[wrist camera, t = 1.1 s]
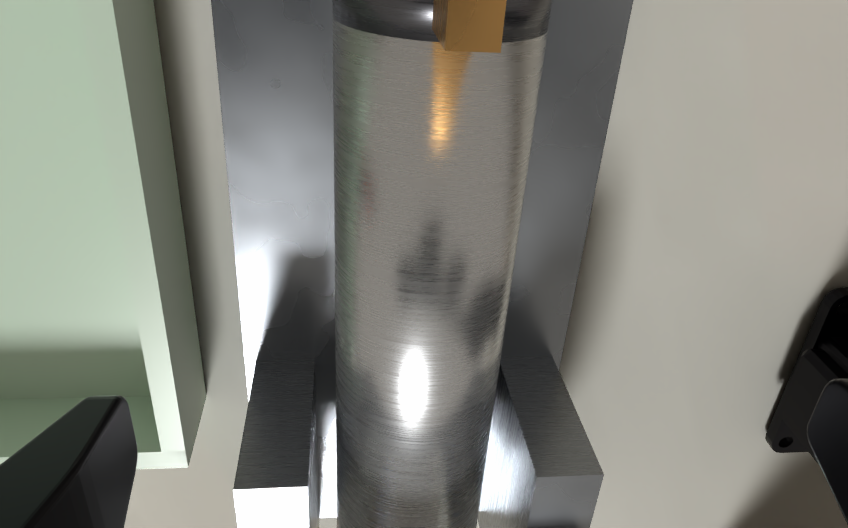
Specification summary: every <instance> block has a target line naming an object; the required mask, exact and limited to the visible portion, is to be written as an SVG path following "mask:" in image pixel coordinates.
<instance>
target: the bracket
mask: <svg viewBox="0 0 848 528" xmlns="http://www.w3.org/2000/svg"><path fill="white" fill-rule="evenodd" d="M632 4H633V0H552V6H551V13H550V20H549V27H548V34H547V41H546V47H545V54H544V61H543V68H542V75H541V82H540V89H539V96H538V103H537V110H536V117H535V124H534V131H533V137H532V144H531V151H530V158H529V165H528V172H527V179H526V186H525V193H524V200H523V207H522V214H521V221H520V227H519V234H518V241H517V248H516V255H515V262H514V269H513V276H512V283H511V290H510V297H509V304H508V310H507V317H506V324H505V331H504V338H503V345H502V352H501V359H500V366H499V373H498V380H497V387H496V394H495V400H494V407H493V414H492V421H491V428H490V435H489V442H488V449H487V456H486V463H485V470H484V477H483V484H482V490H481V497H480V504H479V511H478V522H479V527H480V528H590V524H591V521H592V517H593V513H594V509H595V506H596V502H597V498H598V495H599V491H600V487H601V483H602V480H603V476H604V474H603V471H602V469H601V467H600V465H599V462H598V460H597V458H596V455H595V453H594V451H593V448H592V446H591V444H590V442H589V439H588V437H587V435H586V432H585V430H584V428H583V425H582V423H581V421H580V419H579V416H578V414H577V412H576V409H575V407H574V405H573V402H572V400H571V398H570V396H569V393H568V391H567V389H566V386H565V384H564V382H563V379H562V377H561V375H560V373H559V368H560V363H561V358H562V353H563V348H564V343H565V338H566V333H567V328H568V323H569V318H570V313H571V308H572V303H573V298H574V293H575V288H576V283H577V278H578V273H579V268H580V263H581V258H582V253H583V248H584V243H585V238H586V233H587V228H588V223H589V218H590V213H591V208H592V203H593V198H594V193H595V188H596V183H597V178H598V173H599V168H600V163H601V158H602V153H603V148H604V143H605V139H606V134H607V129H608V124H609V119H610V114H611V109H612V104H613V99H614V94H615V89H616V84H617V79H618V74H619V69H620V64H621V59H622V54H623V49H624V44H625V39H626V34H627V29H628V24H629V19H630V14H631V9H632ZM211 5H212V16H213V26H214V37H215V48H216V58H217V69H218V80H219V90H220V101H221V112H222V123H223V133H224V144H225V155H226V165H227V176H228V187H229V198H230V208H231V219H232V230H233V240H234V251H235V262H236V272H237V283H238V294H239V305H240V315H241V326H242V337H243V347H244V358H245V369H246V380H247V390H248V401H249V403H248V409H247V415H246V420H245V426H244V432H243V437H242V443H241V449H240V454H239V460H238V466H237V471H236V477H235V483H234V488H233V492H234V500H235V509H236V517H237V526H238V528H319V518H333V517H337V464H336V351H335V238H334V125H333V11H332V0H211Z"/></svg>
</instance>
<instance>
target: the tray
mask: <svg viewBox="0 0 848 528" xmlns="http://www.w3.org/2000/svg"><path fill="white" fill-rule="evenodd" d="M105 395H120V396H122V397H124V398H125V399H126V401H127V402H128V405H129V409H130V414H131V419H132V423H133V428H134V433H135V438H136V442H137V450H138V458H137V466H136V469H162V468H188V466H189V462H190V458H191V454H192V450H193V446H194V442H195V439H196V435H197V431H198V427H199V423H200V419H201V415H202V411H203V408H204V404H205V400H206V390H205V383H204V375H203V368H202V360H201V353H200V345H199V338H198V331H197V323H196V316H195V308H194V301H193V293H192V286H191V278H190V271H189V263H188V256H187V248H186V241H185V233H184V226H183V218H182V211H181V203H180V196H179V188H178V181H177V173H176V166H175V158H174V151H173V143H172V136H171V128H170V121H169V113H168V106H167V99H166V91H165V84H164V76H163V69H162V61H161V54H160V46H159V39H158V31H157V24H156V16H155V9H154V1H153V0H0V464H2V463H3V462H4V461H5V460H7V459H8V458H9V457H10V456H12V455H13V454H14V453H16V452H17V451H18V450H19V449H21V448H22V447H23V446H24V445H26V444H27V443H28V442H30V441H31V440H32V439H33V438H35V437H36V436H37V435H38V434H40V433H41V432H42V431H44V430H45V429H46V428H47V427H49V426H50V425H51V424H52V423H54V422H55V421H56V420H58V419H59V418H60V417H61V416H63V415H64V414H65V413H66V412H68V411H69V410H70V409H72V408H73V407H74V406H75V405H77V404H78V403H79V402H80V401H82V400H83V399H85V398H87V397H89V396H105Z"/></svg>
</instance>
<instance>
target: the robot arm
mask: <svg viewBox="0 0 848 528" xmlns="http://www.w3.org/2000/svg"><path fill="white" fill-rule="evenodd" d="M842 303H843V304H842ZM841 304H842V305H841ZM840 305H841V306H840ZM765 439H766V441H767V443H768V444H769V445H770V447H771V448H772V449H773V450H774V451H775V452H779V453H788V452H809V453H810V454H811V455H812V457H813V458H814V459H815V460H816V462H817V463H818V464H819V465H820V467H821V469H822V471H823V473H824V476H825V478H826V480H827V482H828V484H829V486H830V488H831V490H832V493H833V495H834V497H835V499H836V501H837V503H838V505H839V507H840V509H841V512H842V514H843V516H844V518H845V520H846V522H847V524H848V288H837V289H835V290H833V291H831V292H829V293H828V294H827V295H826V296H825V297H824V299H823V301H822V302H821V305H820V307H819V310H818V312H817V314H816V317H815V319H814V321H813V324H812V326H811V329H810V331H809V333H808V336H807V338H806V340H805V343H804V345H803V348H802V350H801V352H800V355H799V357H798V359H797V362H796V364H795V367H794V369H793V371H792V374H791V376H790V378H789V381H788V383H787V386H786V388H785V390H784V393H783V395H782V397H781V400H780V402H779V405H778V407H777V409H776V412H775V414H774V416H773V419H772V421H771V424H770V426H769V428H768V431H767V433H766V437H765ZM137 458H138V450H137V442H136V438H135V433H134V428H133V423H132V419H131V414H130V409H129V405H128V402H127V401H126V399H125V398H124V397H122V396H120V395H105V396H89V397H87V398H85V399H83V400H82V401H80V402H79V403H78V404H77V405H75V406H74V407H73V408H72V409H70V410H69V411H68V412H66V413H65V414H64V415H63V416H61V417H60V418H59V419H58V420H56V421H55V422H54V423H52V424H51V425H50V426H49V427H47V428H46V429H45V430H44V431H42V432H41V433H40V434H38V435H37V436H36V437H35V438H33V439H32V440H31V441H30V442H28V443H27V444H26V445H24V446H23V447H22V448H21V449H19V450H18V451H17V452H16V453H14V454H13V455H12V456H10V457H9V458H8V459H7V460H5V461H4V462H3V463H2V464H0V528H124V524H125V519H126V514H127V510H128V505H129V500H130V495H131V490H132V486H133V481H134V476H135V471H136V466H137Z"/></svg>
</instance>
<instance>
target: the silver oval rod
mask: <svg viewBox="0 0 848 528" xmlns="http://www.w3.org/2000/svg"><path fill="white" fill-rule="evenodd" d="M551 6H552V0H332V11H333V125H334V238H335V351H336V464H337V528H476V525H477V518H478V511H479V504H480V497H481V490H482V484H483V477H484V470H485V463H486V456H487V449H488V442H489V435H490V428H491V421H492V414H493V407H494V400H495V394H496V387H497V380H498V373H499V366H500V359H501V352H502V345H503V338H504V331H505V324H506V317H507V310H508V304H509V297H510V290H511V283H512V276H513V269H514V262H515V255H516V248H517V241H518V234H519V227H520V221H521V214H522V207H523V200H524V193H525V186H526V179H527V172H528V165H529V158H530V151H531V144H532V137H533V131H534V124H535V117H536V110H537V103H538V96H539V89H540V82H541V75H542V68H543V61H544V54H545V47H546V41H547V34H548V27H549V20H550V13H551Z"/></svg>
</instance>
